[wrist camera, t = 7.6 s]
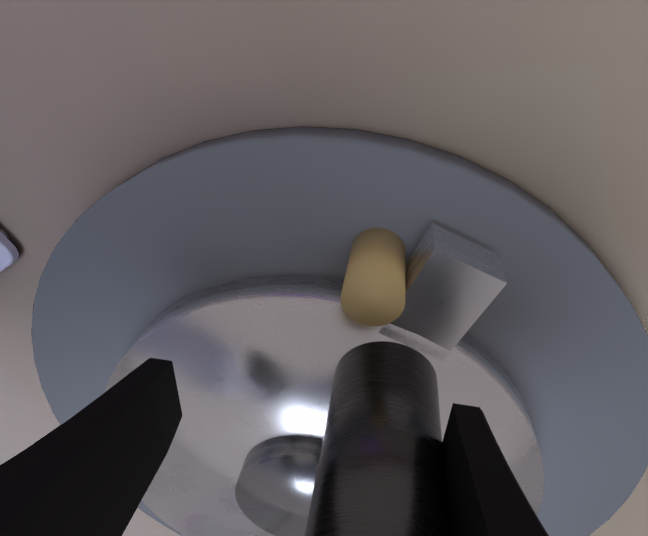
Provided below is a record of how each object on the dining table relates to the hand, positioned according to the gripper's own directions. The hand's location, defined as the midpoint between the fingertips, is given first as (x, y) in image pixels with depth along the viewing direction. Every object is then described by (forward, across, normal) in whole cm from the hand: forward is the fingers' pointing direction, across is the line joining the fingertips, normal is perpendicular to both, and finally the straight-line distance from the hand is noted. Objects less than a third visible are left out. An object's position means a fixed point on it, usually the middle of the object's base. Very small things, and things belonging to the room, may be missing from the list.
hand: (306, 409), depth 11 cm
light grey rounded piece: (+4, 0, +5) cm, 6 cm away
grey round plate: (+6, 0, +6) cm, 8 cm away
